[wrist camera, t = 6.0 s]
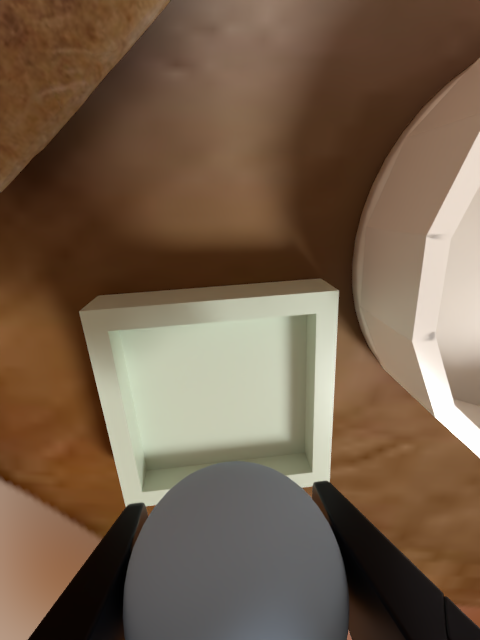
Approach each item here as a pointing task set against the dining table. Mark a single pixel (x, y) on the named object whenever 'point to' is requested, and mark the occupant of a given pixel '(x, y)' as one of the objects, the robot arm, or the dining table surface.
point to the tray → (215, 380)
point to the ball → (236, 562)
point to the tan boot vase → (57, 65)
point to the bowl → (428, 259)
